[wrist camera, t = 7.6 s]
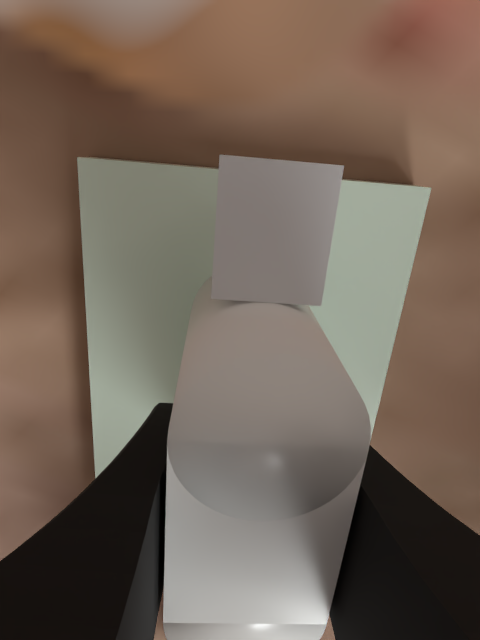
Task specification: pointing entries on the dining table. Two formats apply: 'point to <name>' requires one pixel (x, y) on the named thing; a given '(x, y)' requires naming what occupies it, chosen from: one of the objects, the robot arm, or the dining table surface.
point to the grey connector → (262, 420)
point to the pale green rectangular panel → (196, 268)
